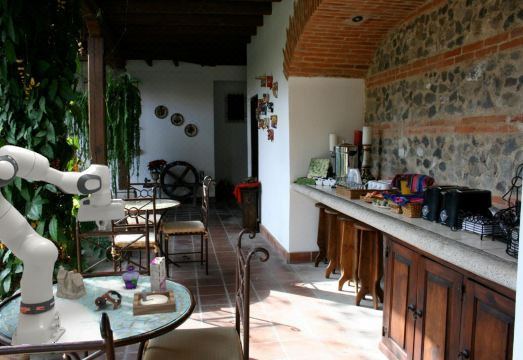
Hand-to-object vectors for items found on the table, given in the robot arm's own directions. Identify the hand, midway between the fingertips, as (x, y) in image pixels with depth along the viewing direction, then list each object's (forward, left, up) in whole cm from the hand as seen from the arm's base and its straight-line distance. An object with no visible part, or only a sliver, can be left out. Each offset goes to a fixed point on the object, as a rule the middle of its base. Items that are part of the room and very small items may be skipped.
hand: (102, 229), depth 206 cm
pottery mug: (-6, -2, -34) cm, 35 cm away
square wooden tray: (-10, -22, -34) cm, 42 cm away
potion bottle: (+18, -11, -34) cm, 40 cm away
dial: (-10, -22, -33) cm, 41 cm away
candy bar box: (+7, -24, -34) cm, 43 cm away
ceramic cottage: (+17, +16, -34) cm, 42 cm away
